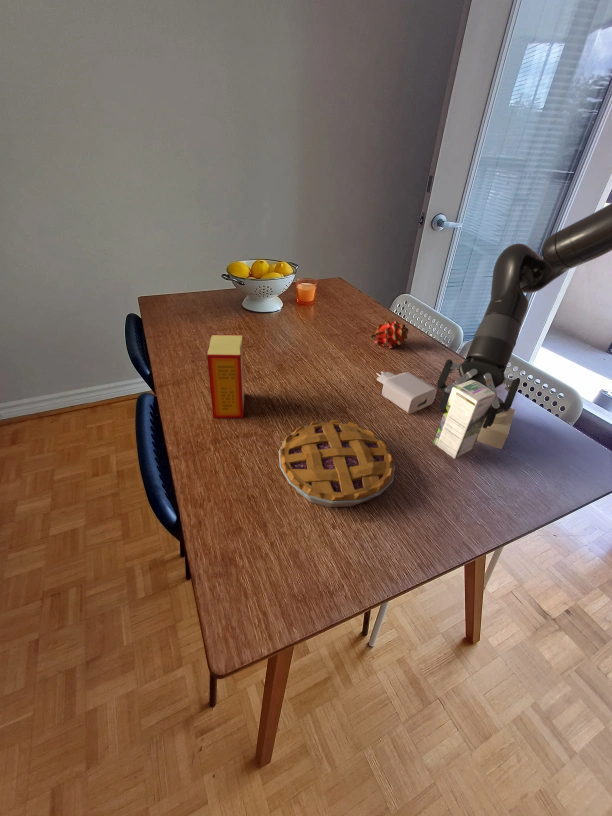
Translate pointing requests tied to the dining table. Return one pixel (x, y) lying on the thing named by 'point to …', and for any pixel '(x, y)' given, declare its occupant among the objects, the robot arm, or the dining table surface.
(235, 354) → the baking soda box
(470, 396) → the syrup box
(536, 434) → the dining table surface
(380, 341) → the dragon fruit
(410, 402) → the charger
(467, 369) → the robot arm
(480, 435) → the beige faceted block
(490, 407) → the lid button
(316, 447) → the pie
